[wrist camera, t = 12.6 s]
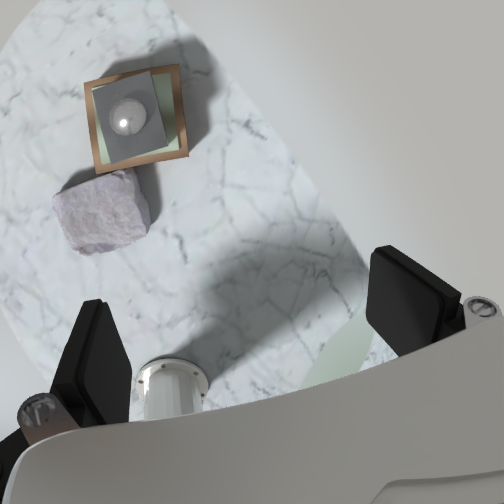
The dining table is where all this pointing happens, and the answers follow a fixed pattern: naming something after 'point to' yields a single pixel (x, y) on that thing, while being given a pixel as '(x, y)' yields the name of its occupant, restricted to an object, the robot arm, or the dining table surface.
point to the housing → (130, 117)
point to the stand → (171, 112)
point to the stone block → (103, 212)
